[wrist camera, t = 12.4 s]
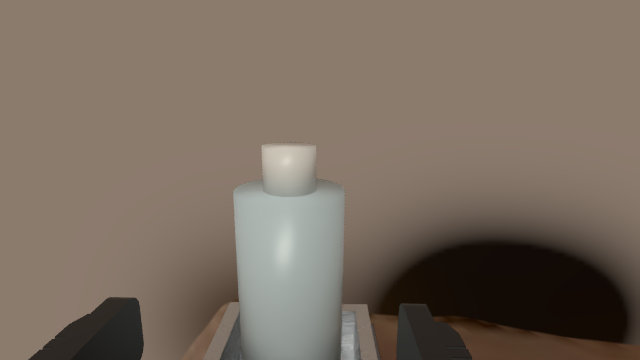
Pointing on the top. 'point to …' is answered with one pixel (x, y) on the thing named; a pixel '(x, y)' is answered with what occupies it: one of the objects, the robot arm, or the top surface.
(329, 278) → the bottle
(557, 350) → the top surface
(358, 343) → the grey socket base
